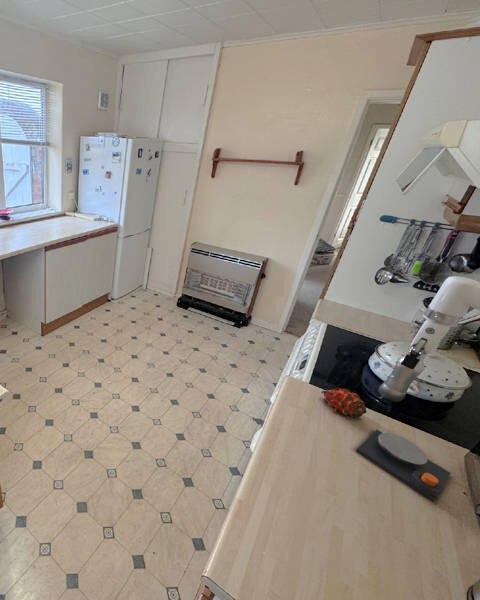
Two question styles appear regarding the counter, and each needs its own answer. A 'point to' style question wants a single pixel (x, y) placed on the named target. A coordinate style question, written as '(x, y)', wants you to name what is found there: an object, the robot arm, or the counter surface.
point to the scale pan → (402, 449)
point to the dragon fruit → (345, 402)
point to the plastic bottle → (400, 380)
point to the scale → (404, 468)
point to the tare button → (429, 479)
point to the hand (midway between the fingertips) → (410, 363)
